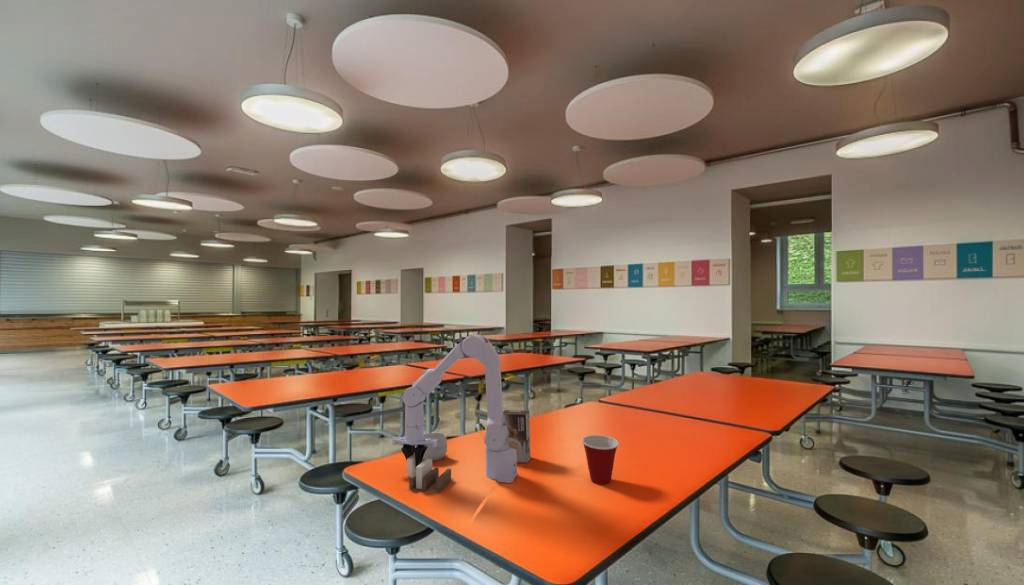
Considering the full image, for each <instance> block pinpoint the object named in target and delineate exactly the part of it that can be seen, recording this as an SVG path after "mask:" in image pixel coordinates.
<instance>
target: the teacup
mask: <svg viewBox="0 0 1024 585" xmlns="http://www.w3.org/2000/svg"><path fill="white" fill-rule="evenodd" d="M447 436H448V434H446V433H445V432H441V431H440V432H438V431H433V432H428V433H424V437H425V438H430V439H437V446H436V447H430V446H428V447H427V449H426V451H425V454H424V456H423V460H422V461H424V460H426V459H432V462H434V461H440V460H443V458H444V457H445V455H446V454H447V451H448V440H447ZM416 447H417V446H415V448H416Z"/></svg>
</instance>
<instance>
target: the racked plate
mask: <svg viewBox="0 0 1024 585" xmlns="http://www.w3.org/2000/svg"><path fill="white" fill-rule="evenodd" d="M432 470H433V461H432V459H426V460H422V463H420V464H419V465H418V466H417V467H416V488H417V489H422V479H423V478H424V477H425V476H426V475H427V474H429V473H430V472H431V471H432Z"/></svg>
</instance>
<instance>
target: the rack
mask: <svg viewBox="0 0 1024 585" xmlns="http://www.w3.org/2000/svg"><path fill="white" fill-rule="evenodd" d="M439 472H440V471H439V467H434V468H432V471H431V472H430V473H429V474H427V475H426V476H425V477H424V478H423V479H422V489H417V488H416V473H415V474H413V475H412V476H411V477H409V478H408V479H409V481H408V483H409V484H408V486H409V487H408V488H407V489H406V490H405V491H406V492H413V493H414V492H415V493H426V494H441V492H443V490H445V489H446V487H448V485H450V483H451V482H453V480H454V478H453V477H452V468H447V469H445V471H443V472H442V473H441V474H440V473H439ZM439 474H440V475H439Z"/></svg>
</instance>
